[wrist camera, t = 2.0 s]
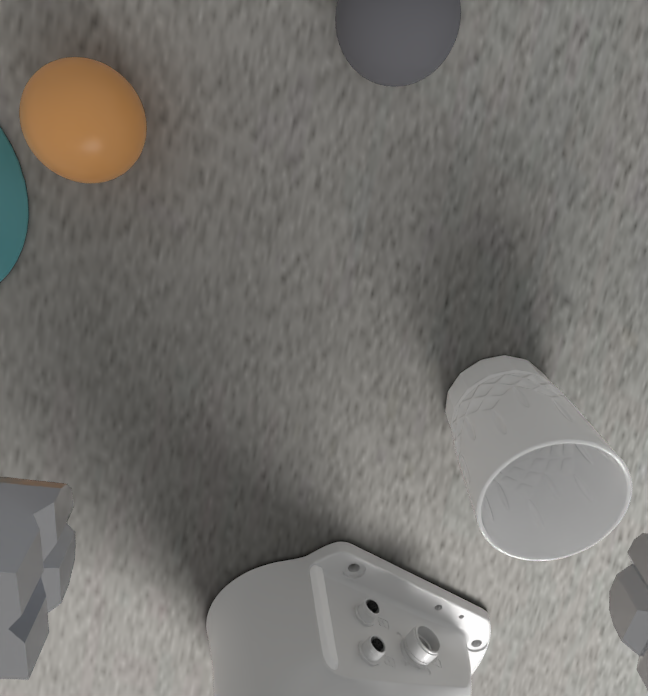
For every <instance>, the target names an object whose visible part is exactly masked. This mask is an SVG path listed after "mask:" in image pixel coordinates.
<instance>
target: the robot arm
mask: <svg viewBox="0 0 648 696" xmlns="http://www.w3.org/2000/svg"><path fill="white" fill-rule="evenodd" d="M73 508H74V504H73V494H72V488H71V487H70V486H69V485H68V484H64V483H55V482H46V481H37V480H28V479H18V478H9V477H0V679H29V678H30V675H31V673H32V671H33V668H34V666H35V664H36V661H37V659H38V657H39V654H40V652H41V650H42V647H43V645H44V643H45V640H46V638H47V636H48V633H49V626H48V612H50V611H51V610H52V609H54V608H55V607H56V606H58V605H59V604H61V603H62V600H63V598H64V595H65V593H66V590H67V588H68V585H69V582H70V578H71V574H72V569H73V565H74V559H75V549H76V540H75V531H74V530H73V529H72V528H71V527H70V526H69V525H68V524H67V520H68V518H69V516H70V514H71V512H72V510H73ZM627 553H628V555H629V558H630V561H631V563H632V564H631V565H630V566H628V567H627V568H625V569H624V570H622V571H621V572H620V573H618V574H617V575H616V577H615V579H614V582H613V584H612V587H611V589H610V592H609V611H610V614H611V618H612V622H613V625H614V627H615V629H616V631H617V633H618V635H619V637H620V639H621V641H622V642H623V643H625V644H626V645H627V646H628V647H629V648H631V649H632V650H633V651H634V652H635V653H637V654H638V655H639V659H638V664H637V671H638V673H639V675H640V677H641V678H642V680H643V682H644V684H645V686H646V688H647V690H648V533H642V534H641V535H640V536H638V537H637V538H636V539H634V541H633V543H632V545H631V547H630V548H629V550H628V552H627ZM351 564H354V565H351ZM206 631H207V636H208V641H209V645H210V652H211V660H212V671H213V696H471V691H472V676H471V675H472V674H473V673H474V671H475V670H476V668H477V667H478V665H479V664H480V662H481V660H482V658H483V657H484V654H485V652H486V650H487V647H488V644H489V641H490V635H491V625H490V619H489V615H488V613H487V611H485V610H484V609H482V608H480V607H478V606H476V605H474V604H473V603H471V602H468V601H466V600H464V599H462V598H460V597H458V596H456V595H454V594H452V593H450V592H448V591H446V590H444V589H442V588H440V587H438V586H436V585H434V584H432V583H430V582H428V581H426V580H424V579H422V578H420V577H418V576H416V575H414V574H412V573H410V572H408V571H405V570H403V569H401V568H399V567H397V566H395V565H393V564H391V563H389V562H387V561H385V560H383V559H381V558H379V557H377V556H375V555H373V554H371V553H369V552H367V551H365V550H363V549H361V548H359V547H357V546H355V545H353V544H350V543H348V542H335V543H332V544H329V545H327V546H324V547H322V548H320V549H318V550H316V551H315V552H313V553H311V554H309V555H307V556H305V557H301V558H297V559H292V560H286V561H280V562H275V563H271V564H267V565H264V566H261V567H258V568H255V569H253V570H251V571H248V572H246V573H244V574H243V575H241V576H239V577H238V578H236V579H235V580H233V581H232V582H230V583H229V584H228V585H227V586H226V587H225V588H224V589H223V590H222V591H221V592H220V593H219V594H218V595H217V596H216V598H215V599H214V601H213V603H212V605H211V607H210V609H209V612H208V615H207V621H206Z"/></svg>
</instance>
